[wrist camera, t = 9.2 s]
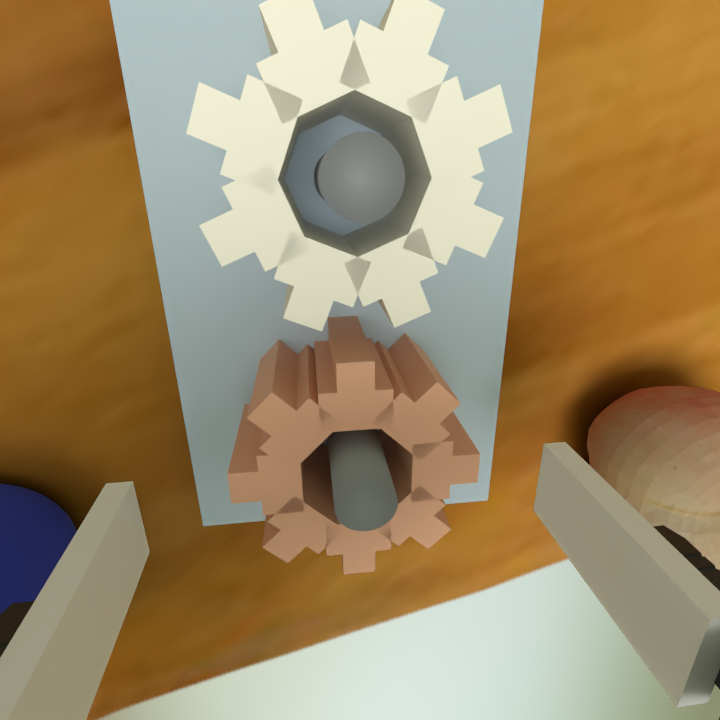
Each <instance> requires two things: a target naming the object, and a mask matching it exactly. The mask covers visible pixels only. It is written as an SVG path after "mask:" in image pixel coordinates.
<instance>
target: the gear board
mask: <svg viewBox="0 0 720 720" xmlns="http://www.w3.org/2000/svg"><path fill="white" fill-rule="evenodd" d="M265 1H267V0H110V6H111V11H112V17H113V23H114V28H115V34H116V39H117V45H118V51H119V56H120V62H121V67H122V73H123V79H124V84H125V90H126V96H127V101H128V107H129V112H130V118H131V124H132V129H133V135H134V141H135V146H136V152H137V157H138V163H139V169H140V174H141V180H142V185H143V191H144V197H145V202H146V208H147V214H148V219H149V225H150V230H151V236H152V242H153V247H154V253H155V259H156V264H157V270H158V275H159V281H160V287H161V292H162V298H163V303H164V309H165V315H166V320H167V326H168V332H169V337H170V343H171V348H172V354H173V360H174V365H175V371H176V377H177V382H178V388H179V393H180V399H181V405H182V410H183V416H184V421H185V427H186V433H187V438H188V444H189V450H190V455H191V461H192V466H193V472H194V478H195V483H196V489H197V495H198V500H199V506H200V511H201V517H202V523H203V526H211V525H222V524H233V523H244V522H255V521H265V517H266V515H263V509H262V501H258V502H246V503H235V504H232V503H231V496H230V489H229V483H228V476H227V473H228V469H229V465H230V461H231V457H232V453H233V449H234V445H235V441H236V437H237V433H238V429H239V425H240V421H241V417H242V413H243V409H244V405H245V404H250V402H251V397H252V393H253V388H254V384H255V380H256V375H257V371H258V367H259V362H260V359H261V358H262V357H263V356H264V355H265V354H266V353H267V352H268V351H269V349H270V348H271V347H272V346H273V345H274V344H275V343H276V342H277V341H278V340H279V339H280V340H281V341H282V342H283V343H285V344H286V345H287V346H288V347H289V348H291V349H292V350H293V351H294V352H295V353H297V354H298V353H299V352H300V351H301V350H302V349H303V348H304V347H305V346H306V345H307V344H308V345H309V346H310V347H311V348H313V349H314V350H315V348H314V341H327V340H329V337H328V317H343V316H357V317H358V320H359V322H360V325H361V327H362V330H363V332H364V335H365V337H366V338H372V340H373V343H374V344H375V343H376V342H377V341H379V342H380V343H382V344H383V345H384V346H385V347H386V348H387V349H389V348H390V347H391V346H392V345H393V344H394V343H395V342H396V341H397V340H398V339H399V338H400V337H401V336H402V335H403V334H404V333H406V334H407V335H408V336H409V337H410V338H411V339H412V340H413V341H414V342H415V343H416V344H417V345H418V346H420V347H421V348H422V349H423V350H424V352H425V353H426V354H427V356H428V357H429V359H430V360H431V362H432V363H433V364H434V366H435V367H436V369H437V370H438V372H439V373H440V374H441V376H442V377H443V379H444V380H445V382H446V383H447V384H448V386H449V387H450V389H451V390H452V391H453V393H454V394H455V396H456V397H457V399H458V400H459V401H460V403H461V404H460V405H459V406H458V407H457V408H456V409H455V410H454V411H453V412H454V414H455V415H456V417H457V418H458V420H459V421H460V423H461V425H462V426H463V428H464V429H465V431H466V432H467V434H468V435H469V437H470V439H471V440H472V442H473V443H474V445H475V446H476V448H477V449H478V451H479V453H480V463H479V473H478V482H477V483H466V484H454V485H450V496H449V499H443V500H444V503H445V504H453V503H464V502H475V501H486V500H488V494H489V485H490V476H491V467H492V458H493V449H494V440H495V431H496V422H497V413H498V404H499V396H500V387H501V378H502V369H503V360H504V351H505V342H506V333H507V324H508V315H509V306H510V297H511V289H512V280H513V271H514V262H515V253H516V244H517V235H518V226H519V217H520V208H521V199H522V190H523V182H524V173H525V164H526V155H527V146H528V137H529V128H530V119H531V110H532V101H533V92H534V83H535V75H536V66H537V57H538V48H539V39H540V30H541V21H542V12H543V3H544V0H429V1H431V2H433V3H434V4H436V5H438V6H440V7H442V8H443V9H445V11H444V13H443V16H442V18H441V21H440V24H439V26H438V29H437V32H436V34H435V37H434V39H433V42H432V45H431V47H430V50H429V52H428V55H430V56H431V57H433V58H435V59H437V60H439V61H441V62H443V63H445V64H447V65H449V67H448V70H447V72H446V75H445V77H444V80H443V82H445V81H447V80H449V79H451V78H453V77H456V76H457V78H458V81H459V85H460V88H461V91H462V95H463V98H464V101H465V100H467V99H469V98H471V97H474V96H476V95H478V94H480V93H482V92H484V91H486V90H489V89H491V88H493V87H495V86H497V85H499V84H500V85H501V88H502V92H503V96H504V100H505V104H506V108H507V112H508V116H509V120H510V124H511V127H512V131H513V132H512V133H510V134H508V135H506V136H504V137H501V138H499V139H497V140H495V141H493V142H491V143H488V144H486V145H484V146H482V147H480V148H478V150H479V154H480V157H481V161H482V164H483V168H484V171H483V172H481V173H478V174H476V175H474V176H472V178H474V179H476V180H478V181H480V182H483V185H482V187H481V189H480V191H479V194H478V196H477V198H476V200H475V203H474V205H476V206H478V207H481V208H483V209H485V210H487V211H490V212H492V213H494V214H496V215H499V216H501V217H503V218H504V219H503V221H502V223H501V226H500V228H499V230H498V232H497V234H496V236H495V238H494V240H493V242H492V244H491V247H490V249H489V251H488V253H487V255H486V257H485V258H484V257H481V256H479V255H477V254H474V253H472V252H469V251H467V250H465V249H462V248H460V247H457V246H455V247H454V249H453V251H452V253H451V256H450V258H449V260H448V262H447V265H444V264H442V263H439V262H437V261H434V262H435V265H436V268H437V270H438V273H437V274H435V275H433V276H431V277H429V278H426V279H424V280H422V281H420V284H421V287H422V289H423V292H424V295H425V297H426V300H427V302H428V305H429V308H430V310H431V312H429V313H427V314H424V315H422V316H420V317H418V318H415V319H413V320H411V321H409V322H406V323H404V324H402V325H400V326H398V327H395V328H394V326H393V325H392V323H391V322H390V320H389V318H388V317H387V315H386V313H385V312H384V310H383V308H382V307H381V305H380V304H379V302H378V301H375V302H373V303H371V304H369V305H367V306H364V307H363V305H362V303H361V301H360V299H359V297H358V296H357V298H356V301H355V303H354V306H353V307H350V306H348V305H345V304H342V303H339V302H336V301H333V304H332V306H331V309H330V312H329V314H328V317H327V320H326V322H325V325H324V327H323V330H322V331H319V330H316V329H313V328H310V327H307V326H304V325H301V324H298V323H295V322H292V321H289V320H287V319H284V318H283V315H284V307H285V300H286V292H287V285H288V284H286V283H283V282H281V281H278V280H275V279H274V276H275V273H276V269H277V266H276V267H274V268H272V269H270V270H268V271H265V270H264V268H263V266H262V265H261V263H260V261H259V259H258V257H257V255H256V253H255V252H253V253H251V254H249V255H247V256H244V257H242V258H240V259H238V260H236V261H234V262H231V263H229V264H227V265H225V266H223V267H222V266H221V264H220V262H219V261H218V259H217V257H216V255H215V253H214V252H213V250H212V248H211V246H210V244H209V243H208V241H207V239H206V237H205V235H204V234H203V232H202V230H201V228H200V226H199V225H201V224H203V223H205V222H207V221H209V220H211V219H213V218H216V217H218V216H220V215H222V214H224V213H226V212H228V211H230V210H232V207H231V205H230V203H229V201H228V199H227V197H226V195H225V193H224V191H223V189H222V187H223V186H225V185H227V184H229V183H231V182H233V181H235V180H233V179H230V178H228V177H225V176H223V175H220V172H221V168H222V165H223V161H224V157H225V154H226V150H224V149H222V148H219V147H217V146H215V145H212V144H210V143H207V142H205V141H203V140H200V139H198V138H195V137H193V136H191V135H188V134H186V132H187V128H188V124H189V120H190V116H191V112H192V108H193V104H194V100H195V96H196V91H197V87H198V83H199V82H200V83H202V84H205V85H207V86H209V87H211V88H214V89H216V90H218V91H220V92H223V93H225V94H227V95H229V96H232V97H234V98H236V99H238V100H240V99H241V95H242V92H243V88H244V84H245V81H246V77H247V74H248V75H251V76H253V77H255V78H257V79H259V80H261V81H263V80H262V78H261V75H260V73H259V70H258V68H257V65H256V63H258V62H260V61H262V60H264V59H266V58H268V57H270V56H271V53H270V49H269V45H268V41H267V37H266V33H265V29H264V25H263V21H262V17H261V13H260V9H259V4H261V3H263V2H265ZM391 1H392V0H313V2H314V5H315V7H316V10H317V12H318V15H319V18H320V20H321V23H322V26H323V28H324V30H326V29H328V28H330V27H332V26H334V25H336V24H338V23H340V22H342V21H344V20H346V19H347V20H348V22H349V25H350V28H351V31H352V33H353V36H354V35H355V32H356V30H357V27H358V24H359V21H360V19H361V20H362V21H364V22H366V23H368V24H370V25H372V26H374V27H376V28H378V26H379V24H380V22H381V20H382V18H383V16H384V14H385V12H386V10H387V8H388V6H389V5H390V3H391ZM443 82H442V83H443ZM285 181H286V183H287V186H288V188H289V190H290V192H291V194H292V196H293V199H294V201H295V203H296V205H297V207H298V209H299V212H300V214H301V216H302V218H303V220H304V221H306V222H309V223H311V224H314V225H316V226H319V227H321V228H324V229H327V230H329V231H332V232H334V233H337V234H339V235H342V236H344V235H346V234H348V233H350V232H352V231H355V230H357V229H359V228H361V227H363V226H365V225H368V224H370V223H372V222H374V221H377V220H379V219H381V218H383V217H385V216H386V215H387V214H389V213H390V212H391V211H392V210H393V209H394V207H395V206H396V205H397V203H398V202H399V200H400V198H401V196H402V193H403V189H404V185H405V170H404V165H403V162H402V159H401V157H400V155H399V153H398V151H397V150H396V148H395V147H394V146H393V145H392V144H391V143H390V142H389V141H388V140H386V139H385V138H384V137H382V136H381V134H380V133H378V132H376V131H374V130H372V129H369V128H367V127H365V126H363V125H361V124H359V123H356V122H354V121H352V120H350V119H348V118H346V117H343V116H341V115H338V116H336V117H334V118H331V119H329V120H327V121H325V122H323V123H321V124H319V125H317V126H315V127H313V128H310V129H308V130H306V131H304V132H302V133H300V134H299V135H298V138H297V141H296V144H295V147H294V150H293V154H292V157H291V160H290V163H289V166H288V169H287V172H286V176H285ZM379 430H380V429H367V430H353V431H340V432H332V433H331V434H330V435H329V436H328V437H327V438H326V439H325V440H324V441H323V442H322V443H323V444H324V445H326V446H327V447H328V449H329V459H330V469H331V479H332V490H333V500H334V510H335V515H336V517H337V519H338V520H339V522H340V523H341V524H342V525H344V526H345V527H347V528H349V529H351V530H355V531H371V530H375V529H378V528H380V527H382V526H384V525H385V524H386V523H388V522H389V521H390V520H391V519H392V517H393V516H394V515H395V513H396V510H397V507H398V499H397V495H396V492H395V488H394V485H393V482H392V478H391V475H390V471H389V468H388V465H387V461H386V458H385V455H384V451H383V448H382V445H381V441H380V438H379V434H378V431H379Z"/></svg>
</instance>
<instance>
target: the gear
mask: <svg viewBox="0 0 720 720" xmlns="http://www.w3.org/2000/svg"><path fill="white" fill-rule="evenodd" d="M259 9H260V13H261V17H262V21H263V25H264V29H265V33H266V37H267V41H268V45H269V49H270V53H271V56H270V57H268V58H266V59H264V60H262V61H260V62H258V63H256V65H257V68H258V70H259V73H260V75H261V78H262V80H263V81H261V80H259V79H257V78H255V77H253V76H251V75H248V74H247V77H246V81H245V84H244V88H243V92H242V95H241V99H240V100H238V99H236V98H234V97H232V96H229V95H227V94H225V93H223V92H220V91H218V90H216V89H214V88H211V87H209V86H207V85H205V84H202V83H200V82H199V83H198V87H197V91H196V96H195V100H194V104H193V108H192V112H191V116H190V120H189V124H188V128H187V132H186V134H188V135H191V136H193V137H195V138H198V139H200V140H203V141H205V142H207V143H210V144H212V145H215V146H217V147H219V148H222V149H224V150H226V154H225V157H224V161H223V165H222V168H221V172H220V175H223V176H225V177H228V178H230V179H233V180H235V181H233V182H231V183H229V184H227V185H225V186H223V187H222V189H223V191H224V193H225V195H226V197H227V199H228V201H229V203H230V205H231V207H232V210H230V211H228V212H226V213H224V214H222V215H220V216H218V217H216V218H213V219H211V220H209V221H207V222H205V223H203V224H201V225H199V226H200V228H201V230H202V232H203V234H204V235H205V237H206V239H207V241H208V243H209V244H210V246H211V248H212V250H213V252H214V253H215V255H216V257H217V259H218V261H219V262H220V264H221V266H222V267H223V266H225V265H227V264H229V263H231V262H234V261H236V260H238V259H240V258H242V257H244V256H247V255H249V254H251V253H253V252H255V253H256V255H257V257H258V259H259V261H260V263H261V265H262V266H263V268H264V270H265V271H268V270H270V269H272V268H274V267H276V266H277V269H276V273H275V276H274V279H275V280H278V281H281V282H283V283H286V284H288V285H287V292H286V300H285V307H284V315H283V318H284V319H287V320H289V321H292V322H295V323H298V324H301V325H304V326H307V327H310V328H313V329H316V330H319V331H322V330H323V327H324V325H325V322H326V320H327V317H328V314H329V312H330V309H331V306H332V304H333V301H336V302H339V303H342V304H345V305H348V306H350V307H353V306H354V303H355V301H356V298H357V296H358V297H359V299H360V301H361V303H362V305H363V307H364V306H367V305H369V304H371V303H373V302H375V301H378V302H379V304H380V305H381V307H382V308H383V310H384V312H385V313H386V315H387V317H388V318H389V320H390V322H391V323H392V325H393V326H394V328H395V327H398V326H400V325H402V324H404V323H406V322H409V321H411V320H413V319H415V318H418V317H420V316H422V315H424V314H427V313H429V312H431V310H430V308H429V305H428V302H427V300H426V297H425V295H424V292H423V289H422V287H421V284H420V281H422V280H424V279H426V278H429V277H431V276H433V275H435V274H437V273H438V270H437V268H436V265H435V262H434V261H437V262H439V263H442V264H444V265H447V262H448V260H449V258H450V256H451V253H452V251H453V249H454V247H455V246H457V247H460V248H462V249H465V250H467V251H469V252H472V253H474V254H477V255H479V256H481V257H484V258H485V257H486V255H487V253H488V251H489V249H490V247H491V244H492V242H493V240H494V238H495V236H496V234H497V232H498V230H499V228H500V226H501V223H502V221H503V219H504V218H503V217H501V216H499V215H496V214H494V213H492V212H490V211H487V210H485V209H483V208H481V207H478V206H476V205H474V203H475V200H476V198H477V196H478V194H479V191H480V189H481V187H482V185H483V182H480V181H478V180H476V179H474V178H472V176H474V175H476V174H478V173H481V172H483V171H484V168H483V164H482V161H481V157H480V154H479V150H478V148H480V147H482V146H484V145H486V144H488V143H491V142H493V141H495V140H497V139H499V138H501V137H504V136H506V135H508V134H510V133H512V132H513V131H512V127H511V124H510V120H509V116H508V112H507V108H506V104H505V100H504V96H503V92H502V88H501V85H500V84H499V85H497V86H495V87H493V88H491V89H489V90H486V91H484V92H482V93H480V94H478V95H476V96H474V97H471V98H469V99H467V100H465V101H464V98H463V95H462V91H461V88H460V85H459V81H458V78H457V76H456V77H453V78H451V79H449V80H447V81H445V82H443V80H444V77H445V75H446V72H447V70H448V67H449V65H447V64H445V63H443V62H441V61H439V60H437V59H435V58H433V57H431V56H430V55H428V52H429V50H430V47H431V45H432V42H433V39H434V37H435V34H436V32H437V29H438V26H439V24H440V21H441V18H442V16H443V13H444V11H445V9H443V8H442V7H440V6H438V5H436V4H434V3H433V2H431V1H429V0H392V1H391V3H390V5H389V6H388V8H387V10H386V12H385V14H384V16H383V18H382V20H381V22H380V24H379V26H378V28H376V27H374V26H372V25H370V24H368V23H366V22H364V21H362V20H361V19H360V21H359V24H358V27H357V30H356V32H355V35H354V36H353V33H352V31H351V28H350V25H349V22H348V20H347V19H346V20H344V21H342V22H340V23H338V24H336V25H334V26H332V27H330V28H328V29H326V30H324V28H323V26H322V23H321V20H320V18H319V15H318V12H317V10H316V7H315V5H314V2H313V0H267V1H265V2H263V3H261V4H259ZM442 82H443V83H442ZM338 115H341V116H343V117H346V118H348V119H350V120H352V121H354V122H356V123H359V124H361V125H363V126H365V127H367V128H369V129H372V130H374V131H376V132H378V133H380V134H381V136H382V137H384V138H385V139H386V140H388V141H389V142H390V143H391V144H392V145H393V146H394V147H395V148H396V150H397V151H398V153H399V155H400V157H401V159H402V162H403V165H404V170H405V185H404V189H403V193H402V196H401V198H400V200H399V202H398V203H397V205H396V206H395V207H394V209H393V210H392V211H391V212H390V213H389V214H387V215H386V216H385V217H383V218H381V219H379V220H377V221H374V222H372V223H370V224H368V225H365V226H363V227H361V228H359V229H357V230H355V231H352V232H350V233H348V234H346V235H344V236H342V235H339V234H337V233H334V232H332V231H329V230H327V229H324V228H321V227H319V226H316V225H314V224H311V223H309V222H306V221H304V220H303V218H302V216H301V214H300V212H299V209H298V207H297V205H296V203H295V201H294V199H293V196H292V194H291V192H290V190H289V188H288V186H287V183H286V181H285V176H286V172H287V169H288V166H289V163H290V160H291V157H292V154H293V150H294V147H295V144H296V141H297V138H298V135H299V134H300V133H302V132H304V131H306V130H308V129H310V128H313V127H315V126H317V125H319V124H321V123H323V122H325V121H327V120H329V119H331V118H334V117H336V116H338Z"/></svg>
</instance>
